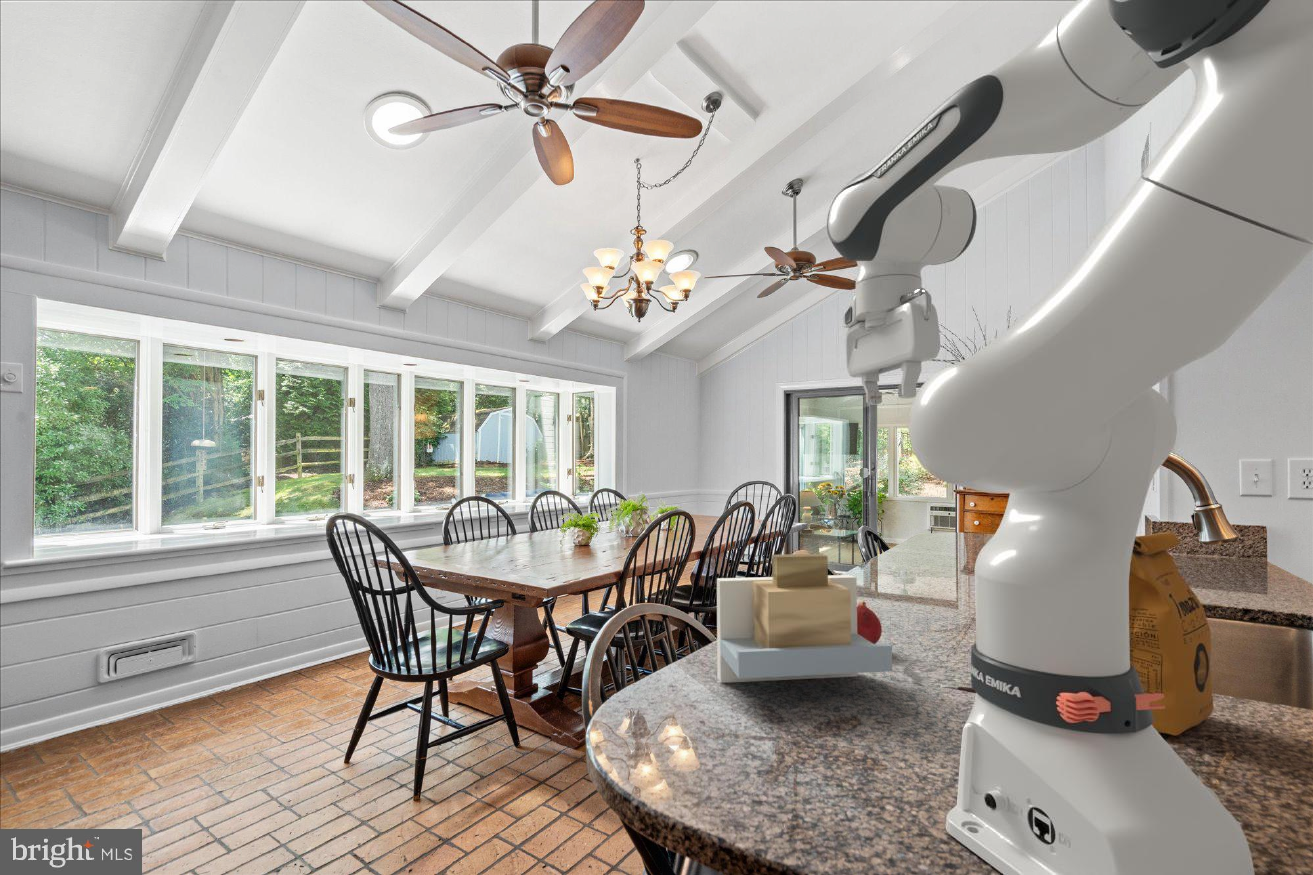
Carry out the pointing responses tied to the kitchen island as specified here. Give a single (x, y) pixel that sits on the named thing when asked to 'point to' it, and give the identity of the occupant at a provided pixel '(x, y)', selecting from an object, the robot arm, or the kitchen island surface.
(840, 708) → the kitchen island surface
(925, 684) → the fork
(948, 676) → the kitchen island surface
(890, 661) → the wall shelf
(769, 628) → the stacked wooden blocks
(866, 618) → the onion
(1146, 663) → the coffee package
